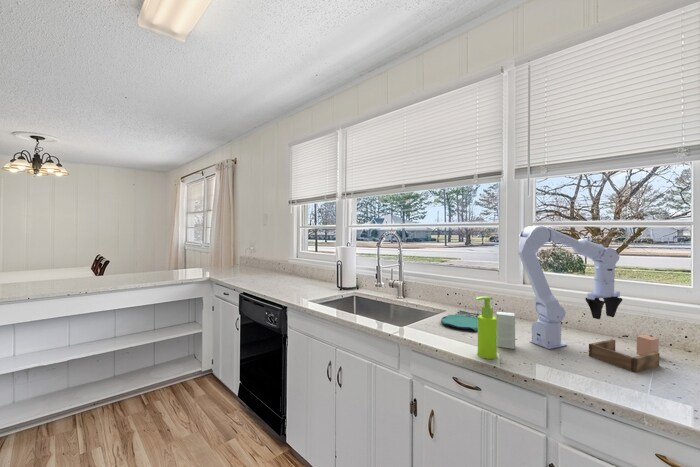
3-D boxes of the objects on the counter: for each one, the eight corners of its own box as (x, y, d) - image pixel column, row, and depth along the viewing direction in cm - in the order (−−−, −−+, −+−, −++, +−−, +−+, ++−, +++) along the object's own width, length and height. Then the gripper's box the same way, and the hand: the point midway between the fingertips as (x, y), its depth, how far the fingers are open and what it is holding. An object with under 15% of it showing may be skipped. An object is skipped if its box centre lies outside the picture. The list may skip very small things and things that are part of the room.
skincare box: (514, 345, 115) (514, 312, 115) (515, 349, 111) (515, 316, 111) (496, 342, 117) (496, 311, 117) (496, 346, 114) (496, 314, 113)
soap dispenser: (471, 352, 109) (471, 295, 108) (490, 351, 109) (490, 294, 109) (480, 359, 103) (480, 299, 102) (500, 358, 103) (500, 298, 103)
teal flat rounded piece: (434, 326, 138) (434, 321, 138) (456, 312, 162) (456, 308, 162) (482, 336, 126) (482, 330, 126) (498, 319, 150) (498, 314, 150)
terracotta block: (651, 358, 103) (651, 340, 103) (636, 353, 107) (636, 336, 107) (658, 356, 104) (658, 338, 104) (643, 351, 108) (644, 334, 108)
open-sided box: (634, 372, 93) (635, 359, 93) (588, 355, 105) (588, 343, 105) (659, 366, 97) (659, 353, 97) (612, 350, 109) (612, 339, 109)
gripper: (602, 283, 108) (602, 322, 108) (629, 281, 113) (629, 318, 113) (581, 280, 114) (581, 317, 115) (608, 278, 119) (607, 313, 119)
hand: (603, 317), depth 114 cm, fingers open, 7 cm apart
